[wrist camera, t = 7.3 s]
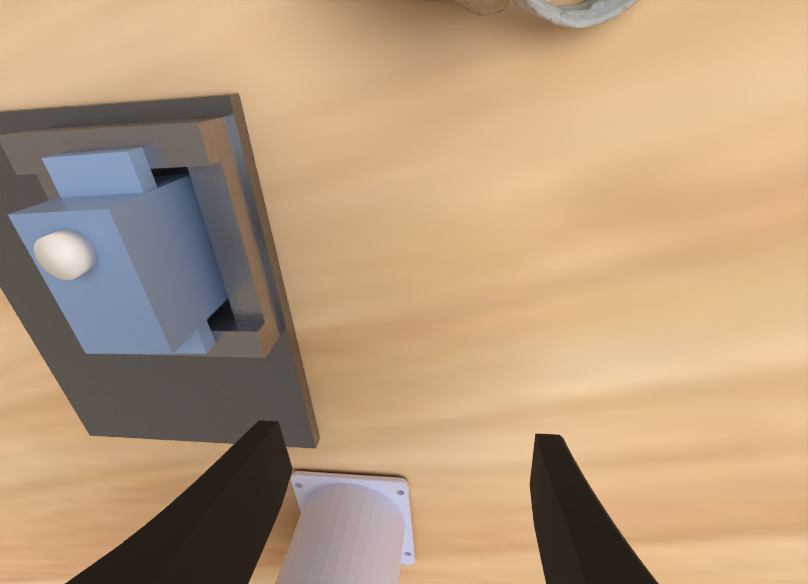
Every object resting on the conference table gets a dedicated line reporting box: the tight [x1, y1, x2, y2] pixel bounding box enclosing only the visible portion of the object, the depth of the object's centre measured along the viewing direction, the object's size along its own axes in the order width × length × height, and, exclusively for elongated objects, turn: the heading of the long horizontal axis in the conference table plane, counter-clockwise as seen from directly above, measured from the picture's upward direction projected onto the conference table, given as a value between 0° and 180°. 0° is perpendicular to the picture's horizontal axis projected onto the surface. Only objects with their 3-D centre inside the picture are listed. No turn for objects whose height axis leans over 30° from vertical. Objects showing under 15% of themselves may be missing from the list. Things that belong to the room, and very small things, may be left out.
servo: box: [8, 147, 228, 354], centre depth 17 cm, size 9×4×6 cm, turn 5°
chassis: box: [0, 93, 320, 448], centre depth 22 cm, size 20×16×3 cm
